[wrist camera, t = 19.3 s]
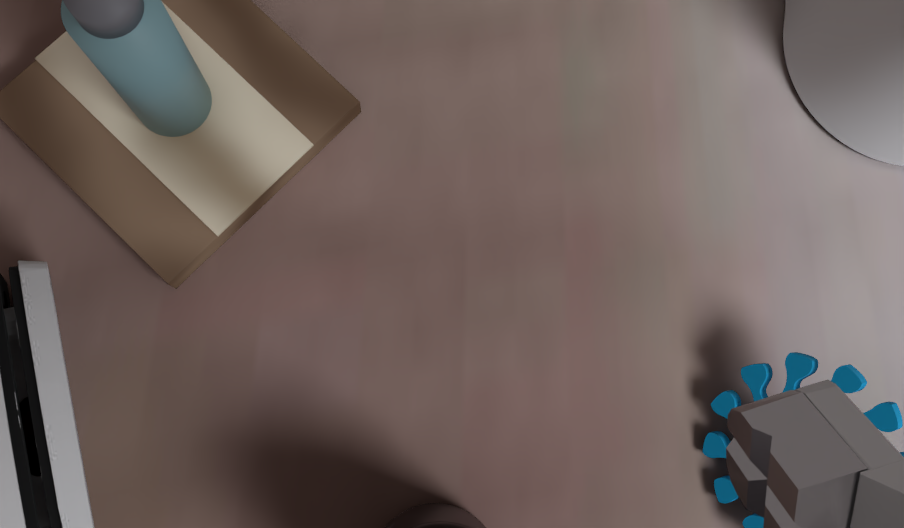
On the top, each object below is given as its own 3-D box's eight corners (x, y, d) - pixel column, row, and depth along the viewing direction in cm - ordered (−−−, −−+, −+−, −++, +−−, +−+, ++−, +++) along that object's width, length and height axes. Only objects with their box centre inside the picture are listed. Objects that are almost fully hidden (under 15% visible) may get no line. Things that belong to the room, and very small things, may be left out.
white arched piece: (-49, 294, 44) (-85, 240, 35) (50, 279, 46) (40, 225, 37) (2, 620, 41) (-24, 653, 32) (105, 589, 43) (108, 611, 34)
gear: (697, 349, 44) (908, 359, 37) (743, 346, 48) (939, 354, 42) (697, 563, 43) (912, 612, 37) (743, 540, 48) (943, 580, 41)
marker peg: (175, 52, 45) (100, -75, 34) (227, 100, 45) (169, -12, 34) (119, 101, 44) (24, -11, 33) (172, 151, 44) (93, 54, 33)
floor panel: (187, -50, 48) (180, -67, 47) (361, 111, 47) (359, 100, 45) (-2, 113, 46) (-17, 102, 44) (175, 288, 44) (167, 283, 43)
